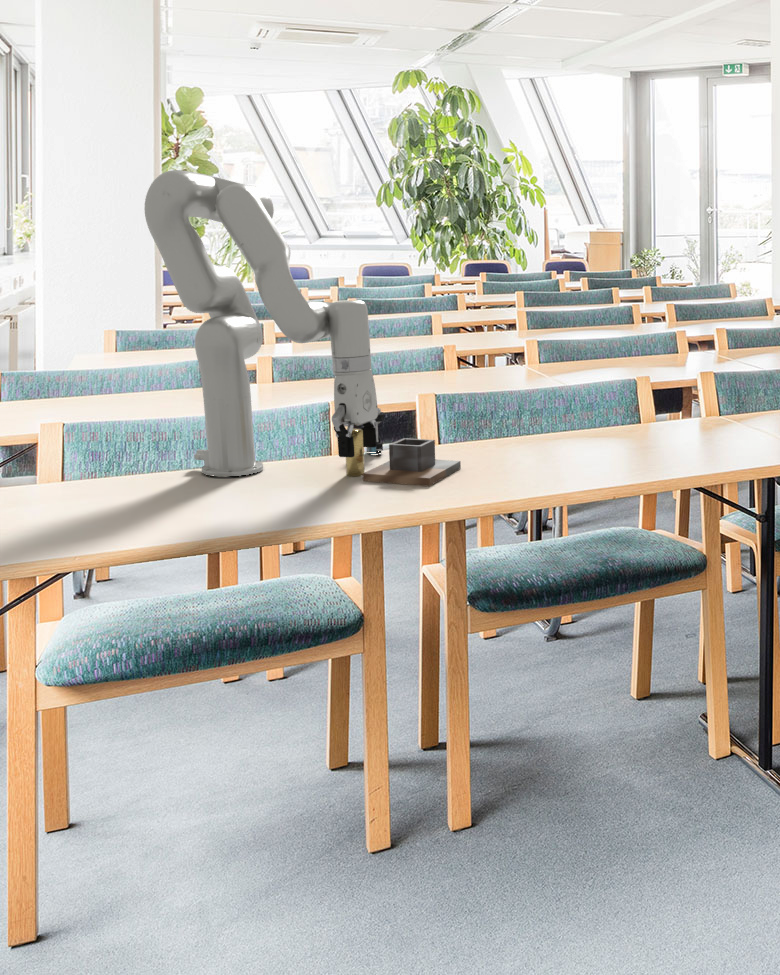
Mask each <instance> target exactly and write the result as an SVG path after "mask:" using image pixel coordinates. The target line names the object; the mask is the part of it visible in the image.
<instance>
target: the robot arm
mask: <svg viewBox="0 0 780 975" xmlns="http://www.w3.org/2000/svg"><path fill="white" fill-rule="evenodd" d="M144 200H145V201H144V217H145V222H146V225H147V228H148V231H149V233H150V234H151V237H152V239H153V241H154V243H155V245H156V247H157V249H158V252H159V254H160V256H161V258H162V260H163V262H164V265H165V268H166V270H167V272H168V275H169V276H170V279H171V281H172V283H173V286H174V288H175V290H176V293H177V295H178V296H179V299H180V301H181V304H182V305H183V306H184V308H185V309H187V310H188V311H190V312H192V313H193V314H194V313H195V314H208V316H209V317H210V318H208V319H207V320H205V321H204V322H203V323H202V324H200V326H199V328H197V331H196V334H195V336H194V347H195V348H194V350H195V355H196V358H197V363H198V366H199V372H200V378H201V387H202V398H203V409H204V411H203V412H204V422H205V433H206V445H207V446H206V447H207V449H197V450H196V453H194V457H193V458H194V460H195V461H203V462H204V463H203V464H204V465H203V466H202V467H201V468H200V469H201V473H202V472H203V473H204V474H207V475H214V476H239V477H242V476H241V475H246V476H250V475H249V474H251V475H254V474H253V473H255V474H257V472H258V473H259V472H262V471H263V470H264V463H263V462H261V461H258V460H256V453H255V436H254V422H253V412H252V411H253V410H252V394H251V384H250V377H249V372H248V368H247V365H246V361H245V360H247V359H249V358H252V357H253V356H255V355H256V354H257V353H258V352H259V350H260V349H261V347H262V344H263V337H264V336H263V329H262V327H261V324H260V321H259V319H258V317H257V316H258V315H257V314H256V312H255V310H254V308H253V305H252V302H251V300H250V298H249V296H248V294H247V292H246V289H245V287H244V285H243V283H242V281H241V280H240V278H239V276H237V274H236V273H235V272H234V271H233V270H232V269H230V268H229V267H227V266H224V265H223V264H222V265H221V264H214V263H213V262H212V260H211V257H209V254H208V252H207V250H206V248H205V244H204V242H203V240H202V239H201V237H200V235H199V233H198V232H197V231H196V229H195V228H194V226H193V225H192V223H191V221H190V217H191V218H202V219H207V220H210V221H215V222H217V223H221V224H222V226H223V227H224V228H225V230H226V232H227V233H228V234H229V236H230V237H231V239H232V241H233V242H234V244H235V245H236V246H237V248H238V250H239V251H240V253H241V254H242V256H243V258H244V259H245V261H246V263H247V265H249V267H250V269H251V271H252V273H253V276H254V277H253V278H254V281H255V286H256V288H257V291H258V293H259V296H260V298H261V301H262V303H263V305H264V306H265V308H266V310H267V312H268V313H269V316H270V317H271V318H272V320H273V321H274V322H275V324H276V326H277V327H278V328H279V330H280V331H281V332H282V334H283V335H284V336H285V337H286V338H287V339H288V340H289V341H291V342H294V343H296V344H308V343H311V342H316V341H319V340H324V339H329V338H330V349H331V350H330V352H331V360H332V361H331V362H332V373H333V375H334V378H333V379H334V383H333V399H334V400H333V402H334V405H333V406H334V413H333V415H332V416H331V422H332V425H333V431H334V432H335V437H336V439H337V448H338V449H337V450H338V456H339V457H340V458H346V457H354V442H353V437H351V433H352V430H353V429H354V425H355V426H356V427H357V426H361V427H360V428H359V429H362V430H363V447H364V448H367V447H376V446H377V441H376V428H374V427H376V418H377V416H378V408H379V407H378V401H377V400H378V399H377V392H376V385H375V378H374V375H373V371H372V356H371V341H370V340H371V339H370V338H371V337H370V324H369V311H368V306H367V304H366V302H365V301H363V300H357V299H356V300H355V299H354V300H351V299H350V300H340V301H335V302H332V301H331V302H329V301H319V300H316V301H315V300H314V301H313V300H312V301H307V300H306V298H305V297H304V295H303V294H302V292H301V291H300V289H299V287H298V286H297V283H296V282H295V280H294V278H293V275H292V273H291V268H290V260H291V259H290V258H291V248H290V245H289V243H288V242H287V241H286V239H285V237H284V236H283V234H282V233H281V231H280V230H279V228H278V226H277V225H276V224H275V222H274V220H273V217H274V212H275V210H274V209H275V208H274V203H273V201H272V199H271V197H270V195H269V194H268V193H267V192H266V191H265V190H264V189H263V188H260V187H258V186H255V185H249V184H244V183H240V182H237V181H231V180H228V179H224V178H222V177H221V178H220V177H216V176H213V175H209V174H204V173H199V172H194V171H189V170H182V169H171V170H168V171H165V172H163V173H161V174H160V175H158V176H157V177H156V178H154V180H153V181H152V182H151V184H150V185H149V187H148V190H147V193H146V195H145V199H144ZM204 474H203V475H204Z"/></svg>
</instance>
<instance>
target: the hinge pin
mask: <svg viewBox="0 0 780 975" xmlns="http://www.w3.org/2000/svg"><path fill="white" fill-rule="evenodd" d="M351 437H353V442H354V457H345V468H346V476H347V477H353V478H355V477H357V478H358V477H363V473H365V454H364V453H365V451H364V450H365V449H364V448H365V447H363V430H362V429H360V428H353V430H352V433H351Z"/></svg>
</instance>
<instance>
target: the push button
mask: <svg viewBox="0 0 780 975" xmlns="http://www.w3.org/2000/svg"><path fill="white" fill-rule="evenodd" d="M381 410H382V409H381V408H380V407H378V416H377V418H376V427H374V428H376V441H377V446H376V447H366V453H367V452H376V453H370V454H369V453H368V454H367V455H371V454H378V455H379V456H383V454H382V451H384V450H383V449H384V447H383V443H382V442H381V436H380V435H379V434H380V433H379V430H378V429H379V427H378V426H379V424H381V423H382V422H383V421H385V412H382V411H381ZM378 451H379V452H378ZM379 453H381V454H379Z"/></svg>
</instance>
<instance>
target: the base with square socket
mask: <svg viewBox="0 0 780 975" xmlns="http://www.w3.org/2000/svg"><path fill="white" fill-rule="evenodd" d="M435 443H436V440H435V439H424V438H422V439H421V438H407V437H406V438H405V437H404V438H400V439H398V440H395V441H394V442H391V443H389V444H388V451H389V452H388V453H389V460H388V461H387V462H385V463H382V464H379V465H378V466H375V467H373V468H372V469H370V470H367V471H364V473H363V476H362V481H363V482H371V483H372V482H373V483H384V484H400V485H408V486H410V485H411V486H423V487H424V486H425V487H431V486H432V485H434V484H436V483H437V482H439V481H441V480H443V479H444V478H446V477H449V475H452V474H453V473H455V472H456V471H458V470H460V469H461V460H451V459H436V444H435Z"/></svg>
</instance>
